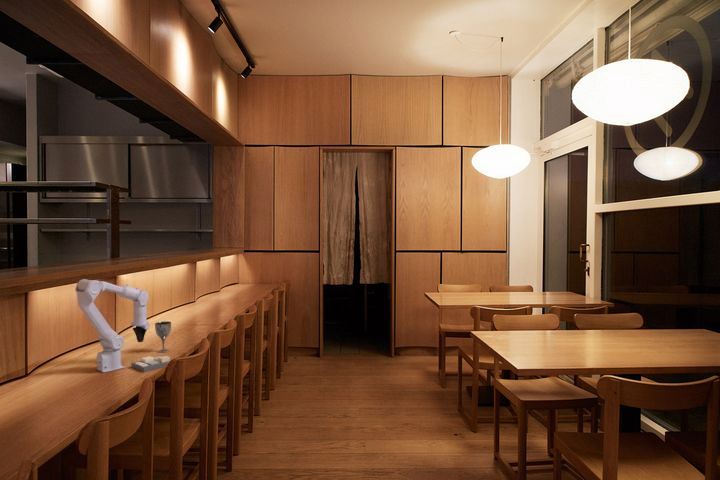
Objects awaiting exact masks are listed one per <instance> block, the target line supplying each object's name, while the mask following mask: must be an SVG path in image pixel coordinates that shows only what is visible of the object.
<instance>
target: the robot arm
mask: <svg viewBox="0 0 720 480" xmlns="http://www.w3.org/2000/svg"><path fill="white" fill-rule="evenodd" d="M74 291H75V292H76V298H77V299H76V300H77V306H78V307H79V308H80V310H81V311H82V312H83V314H84V315H85V317H86V319H87V320H88V321H89V323H90V324H91V326H92V327H93V328H94V330H95V331H96V332H97V334H98V336H97V338H98V339H99V344H100V346H101V347H102V351H99V352H97V354H96V370H97V371H99V372H101V373H107V372H112V371H116V370H121V369H124V368H126V366H124V365H122V348H123V347H124V345H125V340H124V337H123V336H121V335H119V334H118V332H116V331H115V330H113V328H111V326H110V325H109V323H108V322H107V320H105V318H104V316H103V314H102V313H101V312H100V310H99V309H98V308H97V306H96V305H95V303H94V302H95V299H96V298H97V297H98V296H99V294H100V292H104V291H107V292H111V293H114V294H118V296H119V297H120V298H124V299H127V300H130V301H132V302H133V320H132V321H131V322H130V325H131V326H134V327H132V331H133V332H134V333H135V337H136V340H137V343H143V342H144V339H145V335H146V332H147V330H150V322H149V321H148V320H147V304H148V301H149V298H150V295H149V293H148V291H147V290H144V289H139V287H132V286H131V284H123V285H122V286H119V285H116V284H113V283H110V282H107V281H104V280H103V281H101V280H95V279H94V280H92V279H87V278H83V279H80V280H79V281H78V282H77V283H76V286H75V288H74Z"/></svg>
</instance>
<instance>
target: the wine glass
mask: <svg viewBox="0 0 720 480" xmlns="http://www.w3.org/2000/svg"><path fill="white" fill-rule="evenodd" d="M154 330H155V334H156V336H158V337H159V338H160V340H161V342H162V348H161V349H158V350H156V351H155V352H156V353H158V354H163V353H164V354H165V353H168V352H167V351H169V348H165V341H166V339H167V337H168V336H169V335H170V334H171V331H172V321H168V320H167V321H166V320H165V321H157V322H155V323H154ZM169 352H170V351H169Z"/></svg>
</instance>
